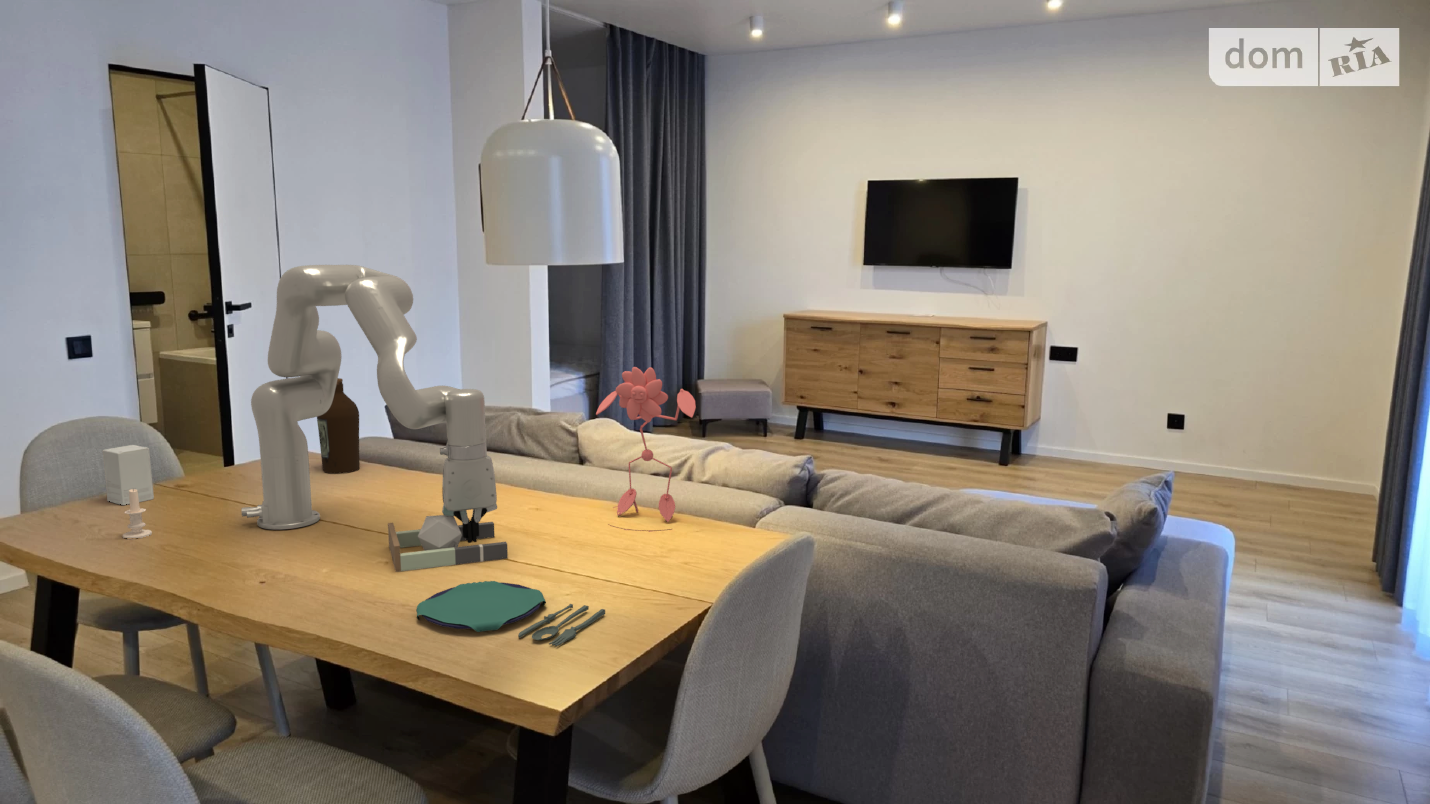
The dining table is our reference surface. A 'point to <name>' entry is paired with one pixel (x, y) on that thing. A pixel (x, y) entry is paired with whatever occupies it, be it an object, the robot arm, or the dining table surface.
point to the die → (439, 533)
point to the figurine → (644, 400)
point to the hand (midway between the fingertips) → (471, 540)
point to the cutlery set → (495, 609)
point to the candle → (135, 517)
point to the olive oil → (339, 434)
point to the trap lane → (443, 550)
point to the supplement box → (127, 473)
